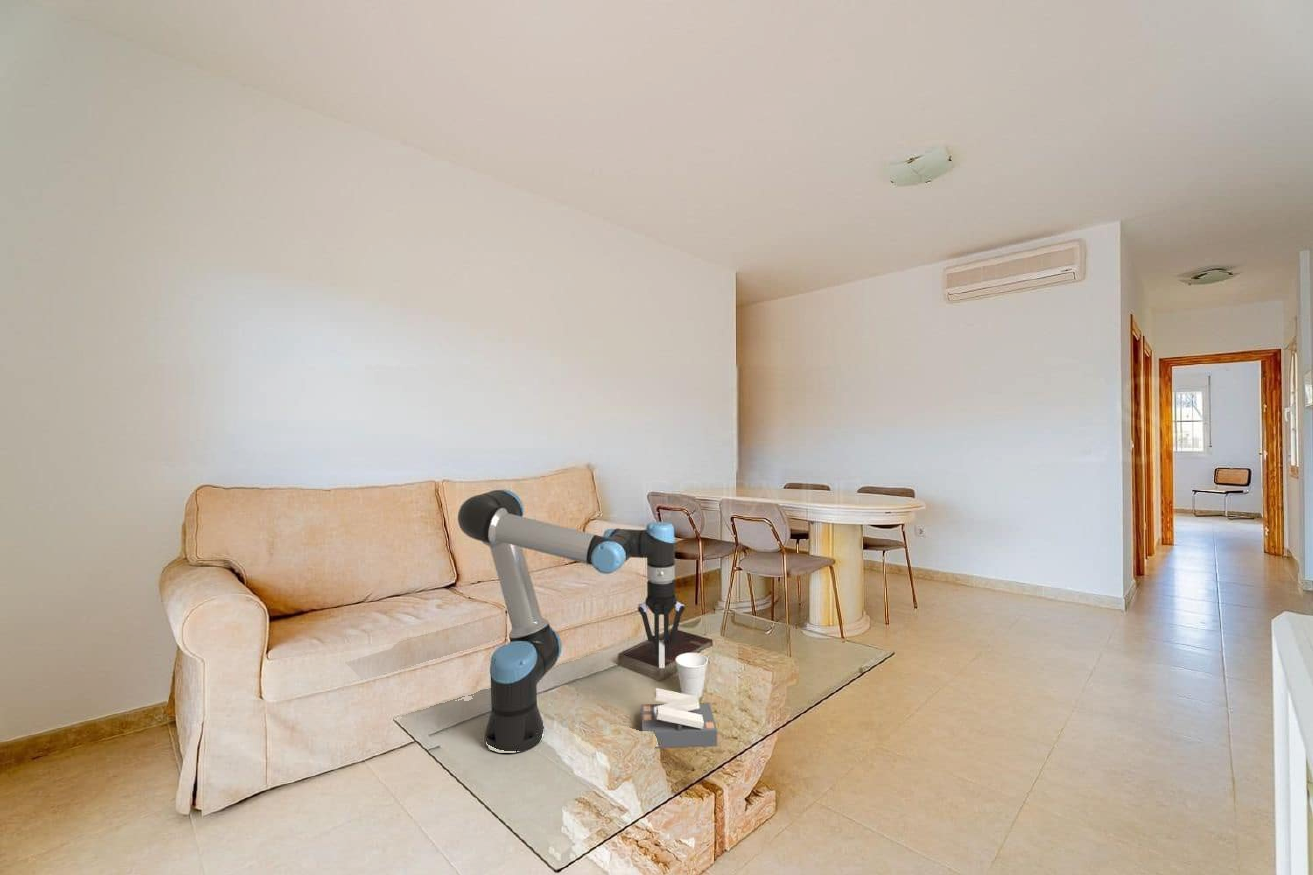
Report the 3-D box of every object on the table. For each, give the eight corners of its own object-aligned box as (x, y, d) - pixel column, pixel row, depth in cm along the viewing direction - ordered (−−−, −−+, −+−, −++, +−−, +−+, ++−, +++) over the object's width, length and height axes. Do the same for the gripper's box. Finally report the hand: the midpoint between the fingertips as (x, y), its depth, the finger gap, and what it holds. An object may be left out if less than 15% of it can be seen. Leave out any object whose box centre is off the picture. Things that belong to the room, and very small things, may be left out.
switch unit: (642, 748, 141) (642, 727, 141) (641, 718, 155) (641, 699, 155) (717, 745, 142) (717, 724, 142) (709, 716, 156) (709, 697, 156)
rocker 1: (655, 700, 151) (656, 694, 151) (654, 693, 155) (655, 687, 155) (697, 709, 152) (699, 703, 152) (696, 702, 155) (697, 696, 155)
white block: (656, 720, 146) (654, 714, 146) (655, 712, 150) (653, 706, 150) (700, 707, 147) (698, 702, 147) (698, 700, 151) (696, 695, 150)
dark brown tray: (671, 640, 211) (671, 627, 211) (712, 653, 199) (712, 639, 198) (617, 666, 189) (617, 652, 188) (660, 683, 177) (660, 668, 176)
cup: (706, 705, 162) (706, 668, 162) (672, 702, 164) (672, 665, 164) (710, 688, 172) (710, 653, 171) (678, 685, 174) (678, 651, 173)
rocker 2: (656, 719, 142) (658, 713, 141) (656, 711, 145) (657, 705, 145) (702, 728, 142) (703, 722, 142) (700, 720, 146) (702, 714, 146)
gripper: (636, 584, 147) (637, 672, 147) (686, 583, 147) (686, 671, 148) (637, 576, 154) (637, 660, 155) (684, 575, 154) (684, 659, 155)
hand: (661, 665), depth 151 cm, fingers closed
